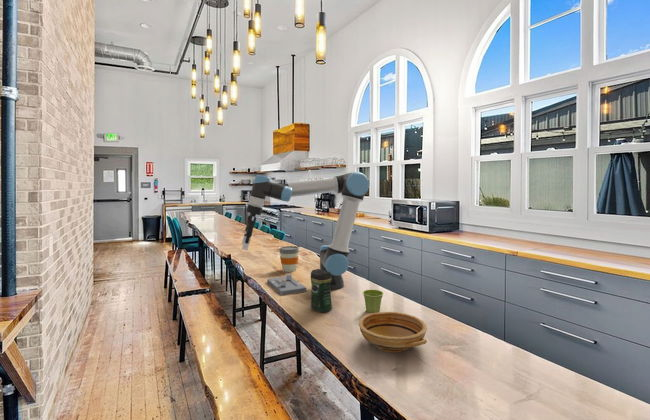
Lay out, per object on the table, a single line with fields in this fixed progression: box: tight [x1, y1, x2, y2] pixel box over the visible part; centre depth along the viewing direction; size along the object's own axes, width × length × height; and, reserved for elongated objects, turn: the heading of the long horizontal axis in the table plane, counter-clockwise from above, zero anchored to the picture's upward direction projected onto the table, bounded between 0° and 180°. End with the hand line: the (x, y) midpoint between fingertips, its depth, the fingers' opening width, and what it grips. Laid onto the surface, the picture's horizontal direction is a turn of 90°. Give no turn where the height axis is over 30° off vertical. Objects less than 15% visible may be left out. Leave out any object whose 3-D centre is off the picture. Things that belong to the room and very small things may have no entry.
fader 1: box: [280, 279, 286, 287], centre depth 196 cm, size 2×3×3 cm, turn 115°
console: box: [266, 276, 307, 296], centre depth 202 cm, size 26×14×2 cm, turn 25°
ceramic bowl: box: [358, 311, 428, 353], centre depth 130 cm, size 30×24×8 cm
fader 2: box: [285, 272, 293, 280], centre depth 208 cm, size 2×3×3 cm, turn 115°
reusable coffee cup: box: [279, 245, 299, 273], centre depth 238 cm, size 13×13×15 cm
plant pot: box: [362, 289, 384, 314], centre depth 163 cm, size 9×9×9 cm
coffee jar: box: [310, 268, 332, 313], centre depth 166 cm, size 10×8×19 cm
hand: (244, 246), depth 179 cm, fingers open, 13 cm apart
